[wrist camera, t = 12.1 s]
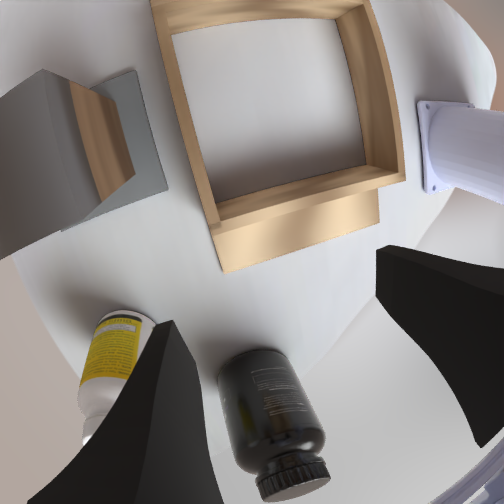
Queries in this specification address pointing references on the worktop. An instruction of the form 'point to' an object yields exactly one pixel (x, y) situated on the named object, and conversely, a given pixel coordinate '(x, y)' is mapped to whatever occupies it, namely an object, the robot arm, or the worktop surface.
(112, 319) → the supplement bottle
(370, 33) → the wooden tray
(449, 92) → the worktop surface
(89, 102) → the block
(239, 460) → the supplement bottle
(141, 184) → the pad
